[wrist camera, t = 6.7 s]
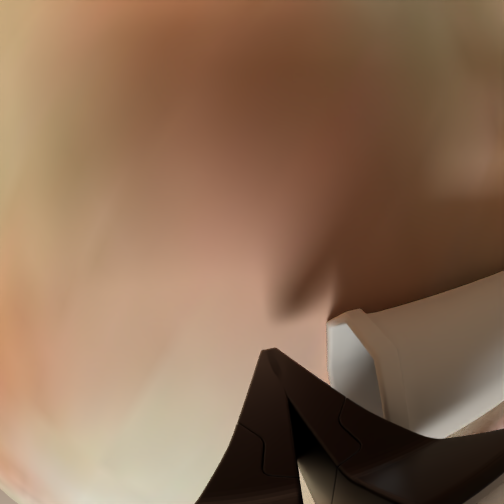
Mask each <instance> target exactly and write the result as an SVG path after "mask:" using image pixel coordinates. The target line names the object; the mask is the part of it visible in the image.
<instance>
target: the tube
mask: <svg viewBox="0 0 504 504" xmlns="http://www.w3.org/2000/svg"><path fill="white" fill-rule="evenodd" d="M326 332H327V371H328V376H329V381H330V386H331V387H332V388H334V389H335V390H337V391H338V392H340V393H341V394H343V395H344V396H346V398H349V399H351V400H352V401H354V402H355V403H357V404H358V405H360V406H362V407H363V408H365V409H367V410H368V411H370V412H372V413H374V414H376V415H378V416H380V417H382V418H384V419H386V420H388V421H390V422H393V423H395V424H397V425H399V426H402V427H404V428H406V429H408V430H411V431H413V432H415V433H418V434H420V435H423V436H426V437H430V438H436V439H444V438H446V437H447V436H449V435H451V434H453V433H455V432H456V431H458V430H460V429H462V428H463V427H465V426H467V425H468V424H470V423H472V422H473V421H475V420H476V419H478V418H479V417H481V416H483V415H484V414H486V413H487V412H489V411H490V410H491V409H493V408H494V407H496V406H497V405H499V404H500V403H501V402H503V401H504V271H501V272H499V273H496V274H493V275H491V276H488V277H486V278H483V279H480V280H477V281H475V282H472V283H469V284H466V285H463V286H460V287H458V288H455V289H452V290H449V291H446V292H443V293H440V294H436V295H433V296H430V297H427V298H424V299H421V300H417V301H414V302H411V303H407V304H404V305H400V306H397V307H393V308H390V309H386V310H383V311H379V312H374V313H368V314H366V313H365V312H363V310H362V309H361V308H360V309H356V310H351V311H346V312H344V313H342V314H340V315H339V316H337V317H335V318H333V319H331V320H329V321H327V323H326Z"/></svg>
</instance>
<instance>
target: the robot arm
mask: <svg viewBox="0 0 504 504" xmlns="http://www.w3.org/2000/svg"><path fill="white" fill-rule="evenodd" d="M298 466H299V469H300V471H301V473H302V475H303V478H304V480H305V482H306V484H307V487H308V489H309V491H310V493H311V495H312V498H313V500H314V502H315V504H504V429H500V430H496V431H491V432H485V433H480V434H474V435H468V436H461V437H454V438H445V439H436V438H430V437H426V436H423V435H420V434H418V433H415V432H413V431H411V430H408V429H406V428H404V427H402V426H399V425H397V424H395V423H393V422H390V421H388V420H386V419H384V418H382V417H380V416H378V415H376V414H374V413H372V412H370V411H368V410H367V409H365V408H363V407H362V406H360V405H358V404H357V403H355V402H354V401H352V400H351V399H349V398H346V396H344V395H343V394H341V393H340V392H338V391H337V390H335V389H334V388H332V387H331V386H330V385H328V384H327V383H325V382H324V381H322V380H321V379H319V378H318V377H316V376H315V375H314V374H312V373H311V372H309V371H308V370H306V369H305V368H304V367H302V366H301V365H299V364H298V363H297V362H295V361H294V360H292V359H291V358H290V357H288V356H287V355H286V354H284V353H283V352H281V351H280V350H279V349H277V348H271V349H266V350H262V351H261V353H260V356H259V359H258V362H257V365H256V368H255V371H254V374H253V378H252V381H251V384H250V387H249V390H248V393H247V396H246V399H245V402H244V405H243V408H242V411H241V414H240V416H239V419H238V422H237V425H236V428H235V431H234V433H233V436H232V438H231V441H230V443H229V446H228V448H227V450H226V452H225V454H224V456H223V458H222V460H221V462H220V463H219V465H218V467H217V469H216V470H215V472H214V474H213V476H212V477H211V479H210V481H209V482H208V484H207V486H206V487H205V489H204V491H203V492H202V494H201V496H200V497H199V499H198V500H197V501H196V503H195V504H303V498H302V492H301V485H300V477H299V470H298Z"/></svg>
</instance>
